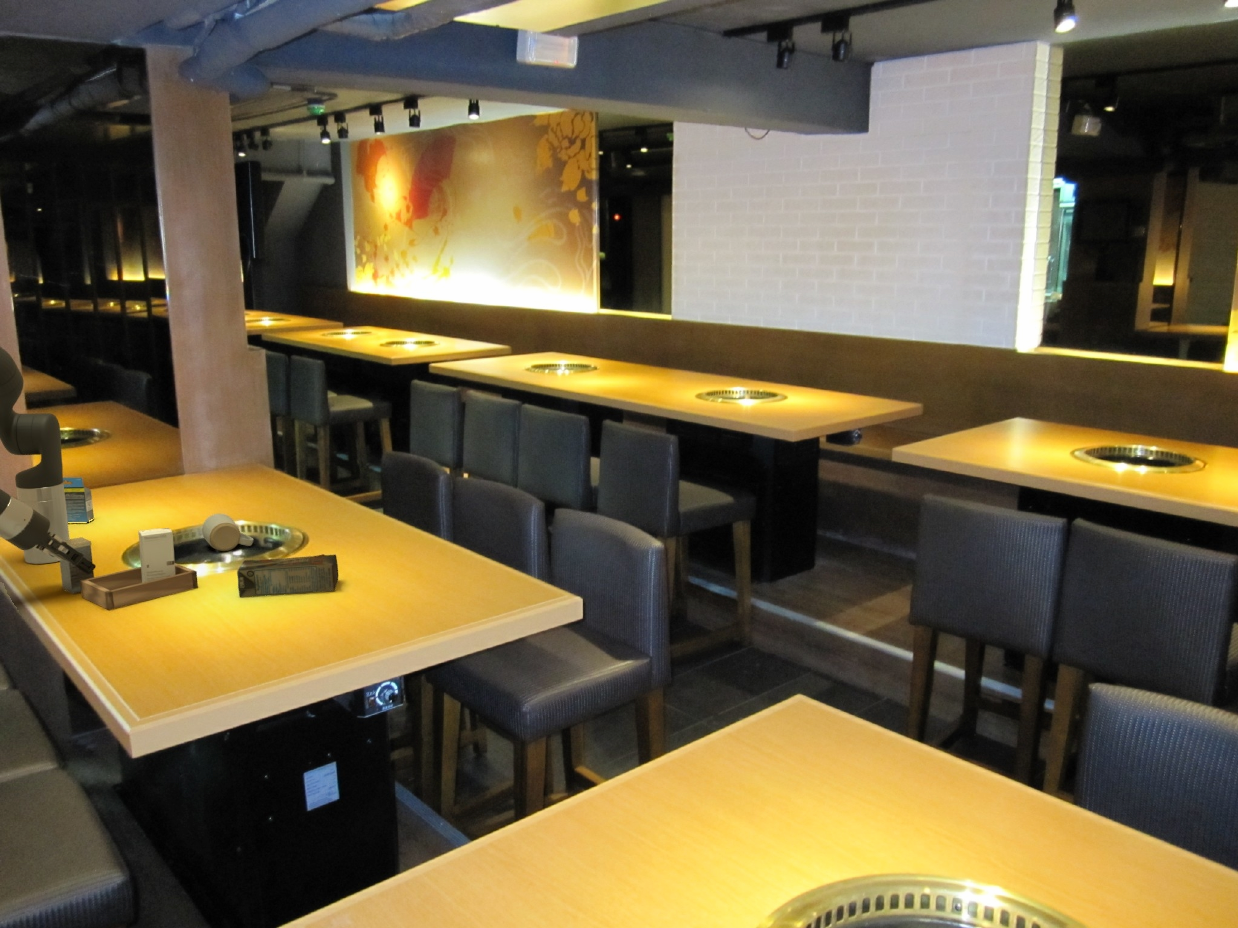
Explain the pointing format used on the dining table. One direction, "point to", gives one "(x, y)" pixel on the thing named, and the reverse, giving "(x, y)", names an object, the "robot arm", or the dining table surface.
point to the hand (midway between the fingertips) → (86, 567)
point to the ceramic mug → (223, 533)
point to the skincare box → (156, 554)
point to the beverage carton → (288, 575)
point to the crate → (135, 587)
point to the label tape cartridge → (78, 500)
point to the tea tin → (73, 573)
